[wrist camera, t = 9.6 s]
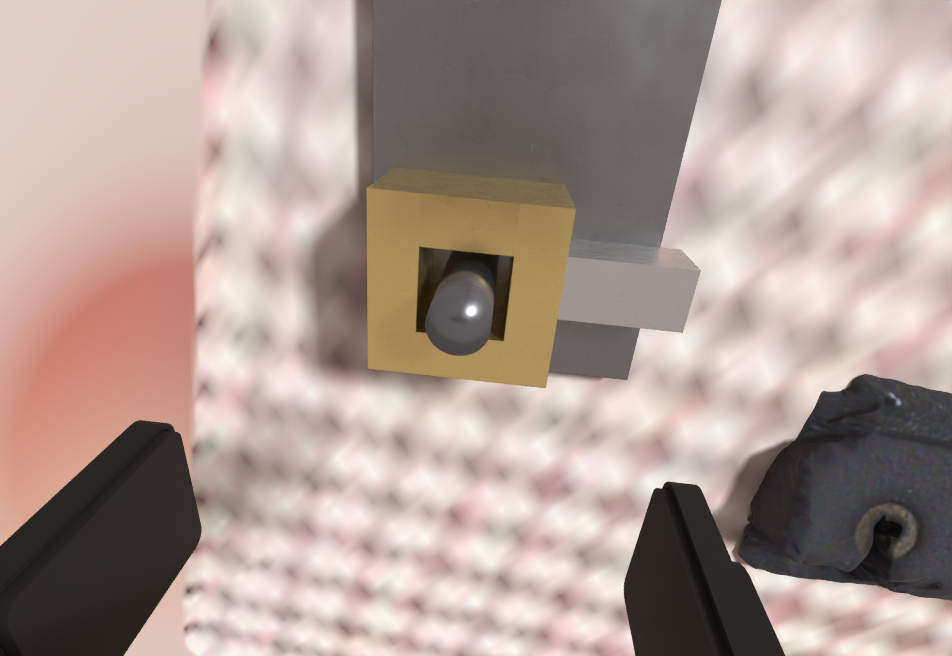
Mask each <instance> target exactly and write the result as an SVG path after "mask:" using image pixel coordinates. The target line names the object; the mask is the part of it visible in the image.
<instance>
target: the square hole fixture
mask: <svg viewBox="0 0 952 656" xmlns="http://www.w3.org/2000/svg"><path fill="white" fill-rule="evenodd" d="M721 1H722V0H373V184H371V185H370V186H368V187H367V333H368V369H375V370H384V371H394V372H403V373H412V374H421V375H430V376H439V377H448V378H457V379H466V380H476V381H485V382H494V383H503V384H512V385H521V386H530V387H539V388H546V383H547V377H548V372H558V373H567V374H576V375H585V376H595V377H604V378H613V379H622V380H627V378H628V374H629V370H630V366H631V362H632V358H633V354H634V350H635V346H636V342H637V338H638V334H639V330H640V328H644V329H653V330H662V331H672V332H681V333H683V330H684V326H685V323H686V320H687V316H688V313H689V309H690V306H691V302H692V299H693V295H694V292H695V289H696V285H697V282H698V278H699V275H700V271H701V270H700V269H699V268H698V267H697V266H696V265H695V264H694V263H693V262H692V261H691V260H690V259H689V258H688V257H687V256H686V255H685V254H684V253H683V251H682V250H678V249H669V248H660V246H661V242H662V238H663V234H664V230H665V226H666V222H667V218H668V214H669V210H670V206H671V202H672V198H673V194H674V189H675V185H676V181H677V177H678V173H679V169H680V165H681V161H682V157H683V153H684V149H685V145H686V141H687V137H688V133H689V129H690V125H691V121H692V117H693V113H694V109H695V105H696V101H697V97H698V93H699V89H700V85H701V81H702V77H703V73H704V69H705V65H706V61H707V57H708V53H709V49H710V45H711V41H712V37H713V33H714V29H715V25H716V21H717V17H718V13H719V9H720V5H721ZM452 250H456V251H466V252H475V253H485V254H495V255H499V262H498V271H497V280H496V289H495V299H494V308H493V317H492V327H491V334H490V337H489V339H488V341H487V343H486V344H485V345H484V346H483V347H482V348H481V349H480V350H478V351H477V352H475V353H473V354H470V355H465V356H454V355H450V354H447V353H444V352H442V351H441V350H439V349H438V348H436V347H435V346H434V345H433V344H432V342H431V341H430V340H429V338H428V336H427V333H426V329H425V319H426V316H427V313H428V310H429V308H430V305H431V303H432V300H433V297H434V295H435V292H436V290H437V287H438V284H439V282H440V279H441V277H442V274H443V271H444V269H445V266H446V264H447V261H448V258H449V256H450V253H451V251H452Z"/></svg>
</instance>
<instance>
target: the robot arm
mask: <svg viewBox="0 0 952 656" xmlns="http://www.w3.org/2000/svg"><path fill="white" fill-rule="evenodd" d="M200 536H201V523H200V519H199V514H198V510H197V505H196V501H195V496H194V492H193V487H192V482H191V478H190V473H189V469H188V464H187V460H186V455H185V451H184V446H183V442H182V438H181V435H180V434H179V433H178V432H175V430H174V428H173V426H172V425H171V424H167V423H160V422H150V421H142V420H140V421H136V422H134V423H133V424H132V425H130V426H129V427H128V428H127V429H126V430H125V431H124V432H123V433H122V434H121V435H120V436H118V437H117V438H116V439H115V440H114V441H113V442H112V443H111V444H110V445H109V446H108V447H107V448H106V449H104V451H102V452H101V453H100V454H99V455H98V456H97V457H96V458H95V459H94V460H93V461H91V463H89V464H88V465H87V466H86V467H85V468H84V469H83V470H82V471H81V472H80V473H79V474H78V475H77V476H75V477H74V478H73V479H72V480H71V481H70V482H69V483H68V484H67V485H66V486H65V487H63V488H62V489H61V490H60V491H59V492H58V493H57V494H56V495H55V496H54V497H53V498H52V499H51V500H50V501H48V502H47V503H46V504H45V505H44V506H43V507H42V508H41V509H40V510H39V511H38V512H36V513H35V514H34V515H33V516H32V517H31V518H30V519H29V520H28V521H27V522H26V523H25V524H24V525H22V526H21V527H20V528H19V529H18V530H17V531H16V532H15V533H14V534H13V535H12V536H11V537H10V538H8V539H7V541H5V542H4V543H3V544H2V545H1V546H0V656H124V654H125V653H126V651H127V650H128V648H129V646H130V645H131V644H132V642H133V641H134V639H135V638H136V636H137V635H138V633H139V632H140V630H141V629H142V627H143V626H144V624H145V623H146V621H147V620H148V618H149V617H150V615H151V614H152V612H153V611H154V609H155V608H156V606H157V605H158V603H159V602H160V600H161V599H162V597H163V596H164V594H165V593H166V591H167V590H168V588H169V587H170V585H171V584H172V582H173V581H174V580H175V578H176V577H177V575H178V573H179V572H180V570H181V569H182V568H183V566H184V565H185V563H186V562H187V560H188V559H189V557H190V556H191V554H192V553H193V551H194V550H195V548H196V546H197V545H198V542H199V540H200ZM624 599H625V604H626V609H627V615H628V620H629V625H630V630H631V635H632V640H633V645H634V650H635V655H636V656H785V654H784V652H783V649H782V647H781V645H780V643H779V640H778V638H777V636H776V634H775V632H774V629H773V627H772V625H771V623H770V620H769V618H768V616H767V614H766V611H765V609H764V607H763V605H762V603H761V600H760V598H759V596H758V594H757V591H756V589H755V587H754V585H753V583H752V580H751V578H750V576H749V574H748V573H747V571H746V569H745V568H744V567H743V566H742V565H741V564H740V563H737V562H733V561H731V558H730V556H729V554H728V551H727V549H726V547H725V544H724V542H723V540H722V537H721V535H720V533H719V530H718V528H717V525H716V523H715V521H714V518H713V516H712V514H711V511H710V509H709V507H708V504H707V502H706V500H705V497H704V495H703V493H702V491H701V489H700V487H699V486H697V485H692V484H684V483H675V482H666V483H665V484H664V486H663V488H662V489H660V488H655V490H654V491H653V494H652V497H651V500H650V503H649V506H648V509H647V512H646V515H645V519H644V522H643V525H642V528H641V531H640V534H639V537H638V540H637V543H636V546H635V550H634V553H633V556H632V559H631V562H630V565H629V568H628V571H627V574H626V578H625V582H624Z"/></svg>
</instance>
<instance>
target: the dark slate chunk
mask: <svg viewBox="0 0 952 656" xmlns="http://www.w3.org/2000/svg"><path fill="white" fill-rule="evenodd" d="M751 511H752V515H751V516H750V517H748V518H747V519H748V521H749V522H750V524H749V526H748V528H747V529H746V530H745V531H744V533H745V534H746V535H747V538H746V540H745V541H744V542H743V543H742V546H741V547H742V549H741V550H740V551H739V553H738V554H739V556H740V557H741V558H742V559H743V560H744V561H745V562H747V563H748V564H749V565H750V566H751V567H753V568H755V569H763V570H766V571H768V572H771V573H774V574H779V575H787V576H793V577H797V578H805V579H820V580H827V581H834V582H839V583H855V584H868V585H880V586H882V587H884V588H887V589H889V590H890V591H893V592H898V593H907V594H911V595H914V596H918V597H925V598H939V599H944V600H952V394H951V393H947V392H942V391H936V390H930V389H926V388H923V387H920V386H913V385H908V384H906V383H903V382H900V381H897V380H893V379H885V378H879V377H876V376H873V375H868V374H865V375H862V376H861V377H859V378H857V379H856V380H854V381H853V382H852V387H851V388H850V389H849V390H844V389H843V390H842V391H839V392H826V391H823V392H822V393H821V394H820V396H819V399H818V401H817V403H816V406H815V408H814V410H813V411H812V413H811V415H810V416H809V418H808V419H807V421H806V423H805V424H804V426H803V428H802V430H801V432H800V433H799V435H798V437H797V439H796V440H795V441H794V442H792V443H791V444H790V445H789V446H788V447H787V448H785V449H784V450H782V451H781V452H780V453H779V454H778V455H777V457H776V458H775V460H774V462H773V464H772V465H771V467H770V468H769V470H768V471H767V473H766V475H765V478H764V480H763V482H762V483H761V486H760V487H759V489H758V491H757V493H756V494H755V496H754V498H753V500H752V503H751Z"/></svg>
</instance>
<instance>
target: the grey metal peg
mask: <svg viewBox="0 0 952 656" xmlns="http://www.w3.org/2000/svg"><path fill="white" fill-rule="evenodd" d="M498 262H499V255H495V254H485V253H475V252H466V251H456V250H452V251H451V253H450V256H449V258H448V261H447V264H446V266H445V269H444V271H443V274H442V277H441V279H440V282H439V284H438V287H437V290H436V292H435V295H434V297H433V300H432V303H431V305H430V308H429V310H428V313H427V316H426V319H425V329H426V333H427V336H428V338H429V340H430V341H431V342H432V344H433V345H434V346H435V347H436V348H438V349H439V350H441V351H442V352H444V353H447V354H450V355H454V356H465V355H470V354H473V353H475V352H477V351H478V350H480V349H481V348H482V347H483V346H484V345H485V344H486V343H487V341H488V339H489V337H490V334H491V327H492V317H493V308H494V299H495V289H496V280H497V271H498Z"/></svg>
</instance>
